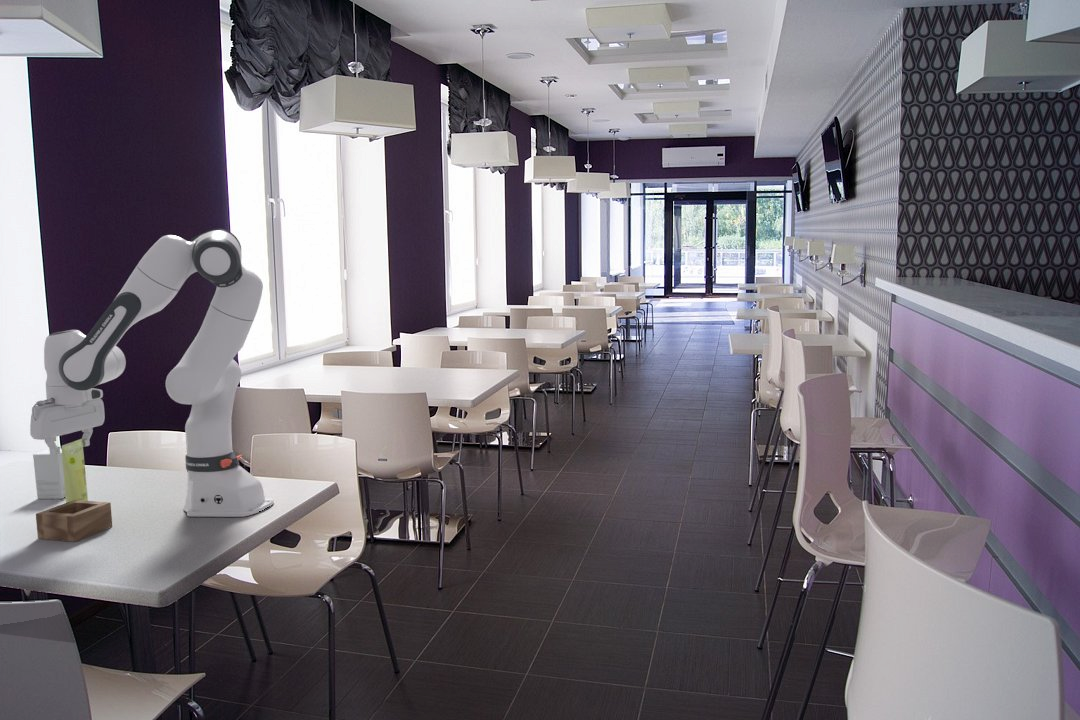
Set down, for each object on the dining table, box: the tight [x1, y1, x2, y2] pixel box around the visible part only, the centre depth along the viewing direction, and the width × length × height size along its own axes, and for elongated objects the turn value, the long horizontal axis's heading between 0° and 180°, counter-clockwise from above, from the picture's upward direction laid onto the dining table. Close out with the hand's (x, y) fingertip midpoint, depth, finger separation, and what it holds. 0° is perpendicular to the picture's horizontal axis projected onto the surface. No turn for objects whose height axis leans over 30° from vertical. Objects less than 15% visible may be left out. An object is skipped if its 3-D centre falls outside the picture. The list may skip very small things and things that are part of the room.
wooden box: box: [35, 500, 113, 543], centre depth 206 cm, size 11×12×6 cm
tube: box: [61, 438, 89, 503], centre depth 217 cm, size 6×5×20 cm
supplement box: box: [32, 448, 66, 500], centre depth 239 cm, size 7×7×13 cm
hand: (70, 450), depth 216 cm, fingers open, 8 cm apart
